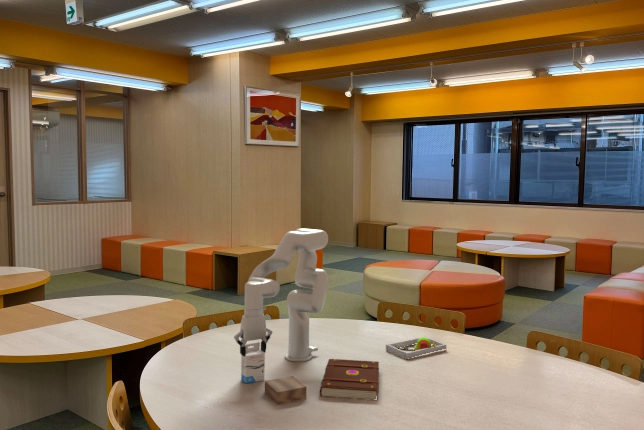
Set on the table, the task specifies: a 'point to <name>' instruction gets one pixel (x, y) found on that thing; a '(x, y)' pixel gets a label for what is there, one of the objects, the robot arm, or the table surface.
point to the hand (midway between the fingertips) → (253, 353)
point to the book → (350, 379)
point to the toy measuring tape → (421, 344)
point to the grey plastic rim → (394, 350)
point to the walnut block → (285, 390)
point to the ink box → (253, 364)
